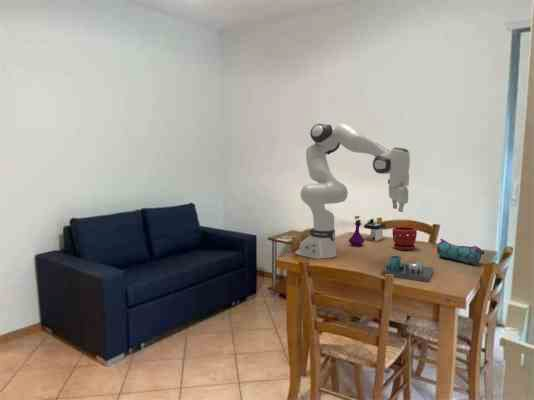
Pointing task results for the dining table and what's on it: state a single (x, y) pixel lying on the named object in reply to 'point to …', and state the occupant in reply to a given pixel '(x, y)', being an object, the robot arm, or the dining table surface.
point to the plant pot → (404, 237)
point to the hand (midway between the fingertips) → (397, 210)
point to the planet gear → (395, 263)
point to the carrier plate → (411, 271)
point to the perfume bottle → (356, 235)
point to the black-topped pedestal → (375, 229)
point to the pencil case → (459, 252)
